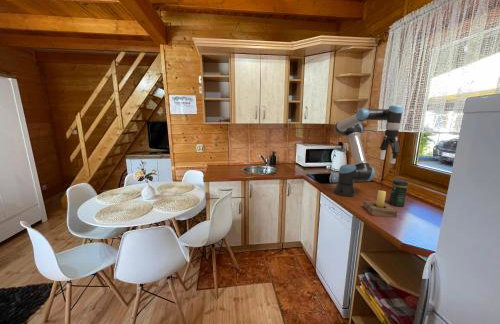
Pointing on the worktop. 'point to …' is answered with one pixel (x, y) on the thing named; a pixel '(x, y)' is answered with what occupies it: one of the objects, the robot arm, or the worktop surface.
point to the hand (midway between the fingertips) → (387, 161)
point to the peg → (380, 199)
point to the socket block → (379, 209)
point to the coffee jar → (398, 192)
